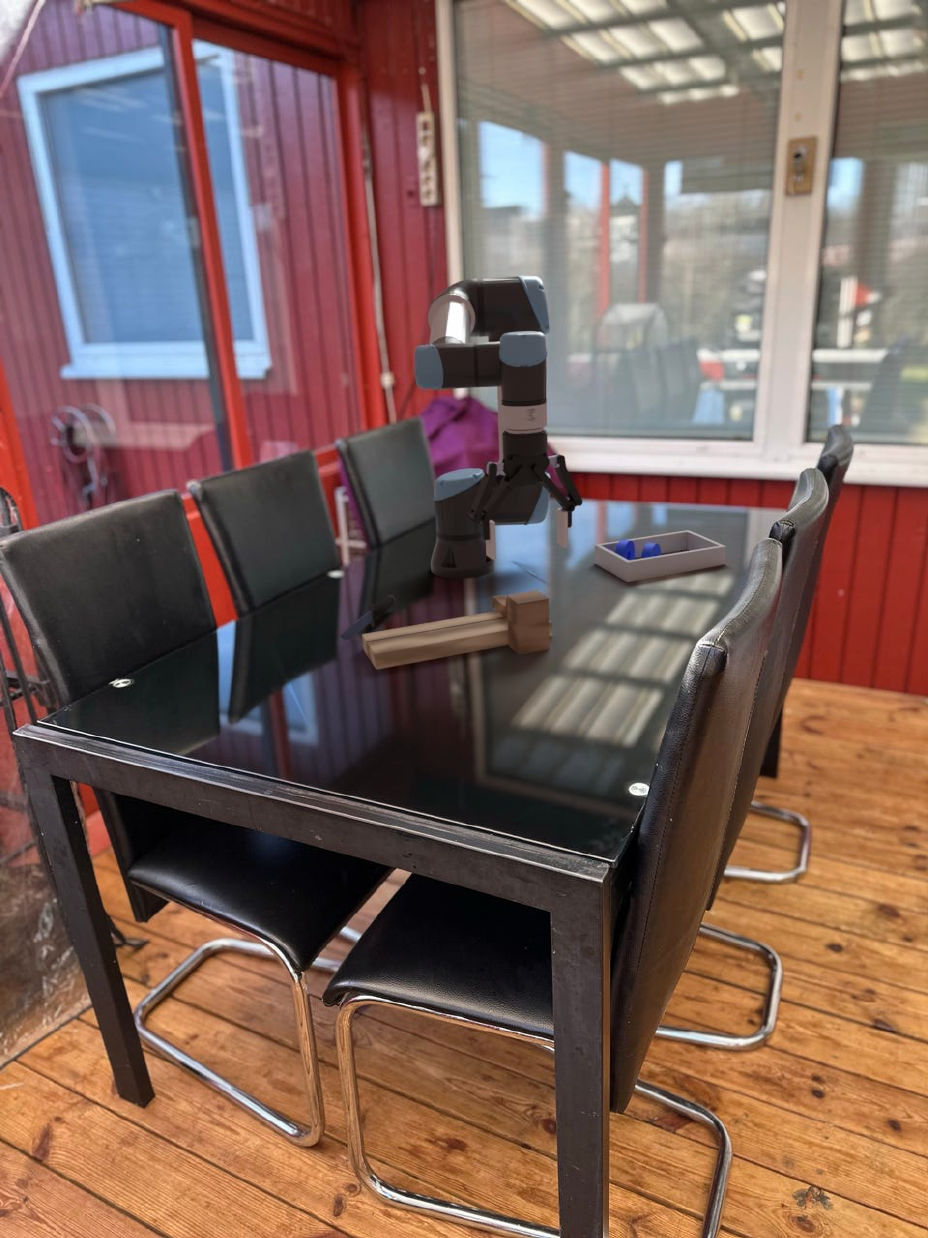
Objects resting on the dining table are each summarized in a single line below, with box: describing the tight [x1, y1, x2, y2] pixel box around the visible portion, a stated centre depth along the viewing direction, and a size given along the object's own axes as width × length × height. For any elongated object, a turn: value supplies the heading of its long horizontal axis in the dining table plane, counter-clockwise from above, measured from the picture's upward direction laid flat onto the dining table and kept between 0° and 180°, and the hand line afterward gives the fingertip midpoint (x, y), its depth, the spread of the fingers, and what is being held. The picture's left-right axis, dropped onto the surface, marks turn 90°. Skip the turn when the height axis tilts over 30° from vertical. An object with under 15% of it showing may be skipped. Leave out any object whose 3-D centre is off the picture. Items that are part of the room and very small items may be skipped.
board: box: [361, 610, 553, 670], centre depth 165 cm, size 10×34×3 cm, turn 110°
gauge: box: [492, 589, 551, 656], centre depth 166 cm, size 18×6×10 cm, turn 20°
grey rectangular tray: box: [594, 529, 727, 583], centre depth 202 cm, size 15×25×4 cm, turn 110°
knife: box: [339, 594, 396, 641], centre depth 172 cm, size 24×2×5 cm, turn 162°
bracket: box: [615, 539, 662, 561], centre depth 204 cm, size 18×8×9 cm, turn 147°
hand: (527, 551), depth 155 cm, fingers open, 13 cm apart
